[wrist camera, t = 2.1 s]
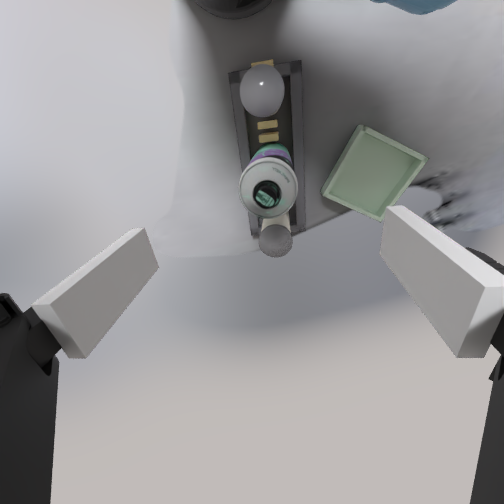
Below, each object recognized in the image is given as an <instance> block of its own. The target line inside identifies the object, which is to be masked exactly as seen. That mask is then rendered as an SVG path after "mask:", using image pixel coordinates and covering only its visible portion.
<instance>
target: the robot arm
mask: <svg viewBox="0 0 504 504" xmlns="http://www.w3.org/2000/svg"><path fill="white" fill-rule="evenodd" d="M194 1H195V2H196V3H197V4H198V5H200V6H201V7H202V8H203V9H205V10H206V11H208V12H210V13H211V14H214V15H216V16H219V17H222V18H228V19H239V18H244V17H248V16H250V15H253V14H255V13H257V12H259V11H260V10H262V9H263V8H264V7H266V6H267V5H268V4H269V3H270V2H271V1H272V0H194ZM371 1H373V2H375V3H383V2H386V3H388V4H390V5H393V6H395V7H397V8H400V9H402V10H404V11H407V12H409V13H412V14H418V15H423V14H427V13H430V12H433V11H435V10H437V9H442V8H445V7H447V6H449V5H450V4H452V3H454V2H455V1H457V0H371ZM380 256H381V257H382V259H383V260H384V261H385V263H386V264H387V265H388V267H389V268H390V269H391V271H392V272H393V273H394V274H395V276H396V277H397V279H398V280H399V281H400V282H401V284H402V285H403V287H404V288H405V289H406V291H407V292H408V293H409V294H410V296H411V297H412V299H413V300H414V301H415V303H416V304H417V305H418V307H419V308H420V309H421V311H422V312H423V313H424V315H425V316H426V317H427V319H428V320H429V321H430V323H431V324H432V325H433V327H434V328H435V330H436V331H437V332H438V334H439V335H440V336H441V337H442V339H443V340H444V341H445V343H446V344H447V346H448V347H449V348H450V349H451V351H452V352H453V354H454V355H455V356H456V358H484V357H485V355H486V352H487V350H488V348H489V346H490V344H492V345H493V346H494V347H495V348H496V349H497V350H498V351H499V353H500V354H501V356H500V358H499V360H498V362H497V364H496V365H495V367H494V369H493V371H492V373H491V375H490V377H489V379H490V380H492V381H493V386H492V391H491V396H490V401H489V407H488V412H487V417H486V423H485V427H484V433H483V438H482V443H481V448H480V454H479V459H478V464H477V469H476V474H475V479H474V485H473V490H472V495H471V500H470V504H504V266H503V265H501V264H500V263H497V262H496V261H495V260H493V259H492V258H490V257H489V256H487V255H486V254H484V253H481V252H479V251H476V250H474V249H471V248H464V247H462V246H461V245H459V244H458V243H456V242H455V241H454V240H452V239H451V238H449V237H448V236H446V235H445V234H443V233H442V232H441V231H439V230H438V229H436V228H435V227H433V226H432V225H430V224H429V223H428V222H426V221H425V220H423V219H422V218H420V217H419V216H417V215H416V214H415V213H413V212H412V211H410V210H409V209H407V208H406V207H404V206H403V205H400V206H387V207H386V211H385V218H384V225H383V232H382V240H381V247H380ZM158 268H159V266H158V263H157V261H156V258H155V255H154V253H153V250H152V247H151V244H150V242H149V239H148V236H147V233H146V230H145V228H134V229H131V230H130V231H129V232H127V233H126V234H125V235H123V236H122V237H121V238H119V239H118V240H117V241H115V242H114V243H113V244H111V245H110V246H109V247H107V248H106V249H105V250H103V251H102V252H101V253H99V254H98V255H97V256H95V257H94V258H93V259H91V260H90V261H89V262H87V263H86V264H85V265H83V266H82V267H81V268H79V269H78V270H77V271H75V272H74V273H72V274H71V275H70V276H69V277H67V278H66V279H64V280H63V281H62V282H60V283H59V284H58V285H56V286H55V287H54V288H53V289H51V290H50V291H48V292H47V293H46V294H45V295H43V296H42V297H40V298H39V299H38V300H37V301H35V302H34V303H33V304H31V307H30V308H29V309H28V310H27V311H25V312H24V313H23V312H22V311H21V310H20V308H19V307H18V306H17V304H16V303H15V302H14V300H13V299H12V298H11V296H10V295H9V294H7V293H2V294H0V504H50V499H51V483H52V468H53V452H54V436H55V419H56V404H57V389H58V372H59V361H58V359H57V357H56V356H55V354H56V353H57V352H58V351H59V350H60V349H61V348H62V349H63V351H64V352H65V353H66V355H67V356H68V358H87V357H88V355H89V354H90V353H91V352H92V351H93V349H94V348H95V347H96V346H97V344H98V343H99V342H100V341H101V339H102V338H103V337H104V335H105V334H106V333H107V332H108V331H109V329H110V328H111V327H112V325H113V324H114V323H115V322H116V321H117V319H118V318H119V317H120V316H121V314H122V313H123V312H124V310H125V309H126V308H127V307H128V306H129V304H130V303H131V302H132V301H133V300H134V298H135V297H136V296H137V295H138V293H139V292H140V291H141V290H142V288H143V287H144V286H145V285H146V283H147V282H148V281H149V279H150V278H151V277H152V276H153V275H154V273H155V272H156V271H157V270H158Z"/></svg>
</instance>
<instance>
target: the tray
mask: <svg viewBox="0 0 504 504" xmlns="http://www.w3.org/2000/svg"><path fill="white" fill-rule="evenodd" d="M428 159H429V158H428V157H426V156H424V155H422V154H420V153H418V152H416V151H414V150H412V149H410V148H408V147H406V146H404V145H402V144H400V143H398V142H396V141H394V140H392V139H390V138H388V137H386V136H384V135H382V134H380V133H378V132H376V131H374V130H372V129H370V128H368V127H366V126H364V125H358V126H357V128H356V129H355V131H354V133H353V135H352V136H351V138H350V140H349V142H348V143H347V145H346V147H345V149H344V150H343V152H342V154H341V156H340V157H339V159H338V161H337V163H336V164H335V166H334V168H333V170H332V171H331V173H330V175H329V177H328V178H327V180H326V182H325V184H324V185H323V187H322V189H321V191H320V192H321V194H322V196H324V197H326V198H329V199H331V200H333V201H335V202H337V203H339V204H342V205H344V206H346V207H348V208H350V209H353V210H355V211H357V212H359V213H362V214H364V215H366V216H368V217H370V218H372V219H375V220H377V221H379V222H381V221H382V220H383V219H384V218H385V211H386V207H387V206H394V204H395V203H396V202H397V200H398V199H399V198H400V196H401V195H402V194H403V193H404V191H405V190H406V189H407V187H408V186H409V185H410V183H411V182H412V181H413V179H414V178H415V177H416V175H417V174H418V173H419V171H420V170H421V169H422V167H423V166H424V165H425V163H426V162H427V161H428Z"/></svg>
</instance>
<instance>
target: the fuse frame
mask: <svg viewBox="0 0 504 504" xmlns="http://www.w3.org/2000/svg"><path fill="white" fill-rule="evenodd" d="M258 64H268V65H270V66H272V67H274V68H275V69H276V70H277V71H278V72H279V73H280V75H281V77H285V76H290V91H291V114H292V137H293V160H294V171H295V175H296V178H297V182H298V192H297V197H296V200H295V206H296V222H290V230H291V232H303V231H305V190H304V149H303V108H302V67H301V60H298V61H293V62H287V63H282V64H276V65H273V59H271V60H266V61H260V62H255V63H251V66H252V67H253V66H255V65H258ZM248 70H249V69H248ZM248 70H242V71H237V72H231V73H228V74H229V81H230V88H231V95H232V102H233V110H234V117H235V124H236V131H237V138H238V145H239V152H240V159H241V166H242V173H243V172H244V170H245V169H246V167H247V166H248V164H249V163H250V161H251V154H250V146H249V137H248V129H247V121H246V113H245V107H244V106H243V104H242V101H241V97H240V85H241V81H242V79H243V77H244V75H245V73H246V72H247V71H248ZM257 124H258V130H260V129H267V128H274V127H278V121H277V120H270V121H263V122H257ZM278 140H279V136H278V131H275V132H268V133H262V134H260V135H259V143H263V142H271V141H278ZM248 215H249V223H250V230H251V235H260V234H261V230H262V225H259V219H258V217H256V216H254V215H252V214H251V213H250V212H248Z"/></svg>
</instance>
